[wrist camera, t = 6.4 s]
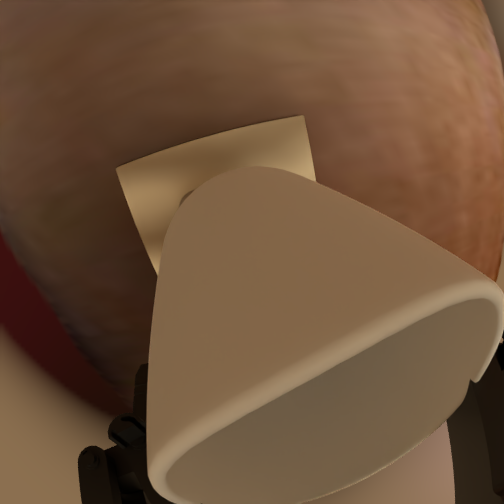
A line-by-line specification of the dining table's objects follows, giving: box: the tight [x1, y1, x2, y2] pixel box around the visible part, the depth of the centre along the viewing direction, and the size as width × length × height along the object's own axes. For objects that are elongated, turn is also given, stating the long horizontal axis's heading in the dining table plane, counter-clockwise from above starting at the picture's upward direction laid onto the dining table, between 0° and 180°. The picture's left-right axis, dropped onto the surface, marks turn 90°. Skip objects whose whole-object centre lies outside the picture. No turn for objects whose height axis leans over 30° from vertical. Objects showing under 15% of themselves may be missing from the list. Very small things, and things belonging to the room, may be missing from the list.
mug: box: [146, 166, 504, 504], centre depth 10 cm, size 12×8×10 cm
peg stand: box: [116, 115, 316, 275], centre depth 20 cm, size 14×14×4 cm
